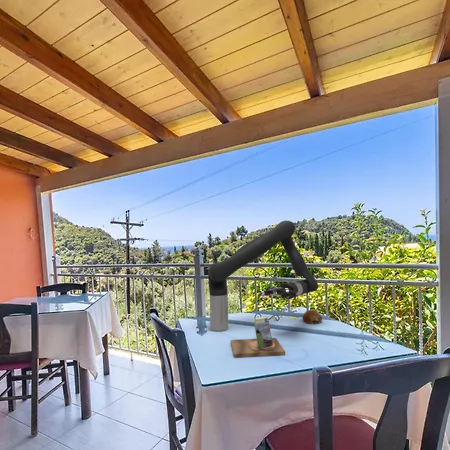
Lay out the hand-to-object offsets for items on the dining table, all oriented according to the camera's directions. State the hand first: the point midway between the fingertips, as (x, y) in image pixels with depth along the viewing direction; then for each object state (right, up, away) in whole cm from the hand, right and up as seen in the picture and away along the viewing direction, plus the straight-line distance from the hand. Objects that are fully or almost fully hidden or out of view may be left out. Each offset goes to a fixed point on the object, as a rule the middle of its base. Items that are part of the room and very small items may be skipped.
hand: (273, 294), depth 135 cm
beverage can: (-6, -18, -13) cm, 23 cm away
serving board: (-8, -20, -9) cm, 24 cm away
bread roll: (+25, -21, +28) cm, 43 cm away
